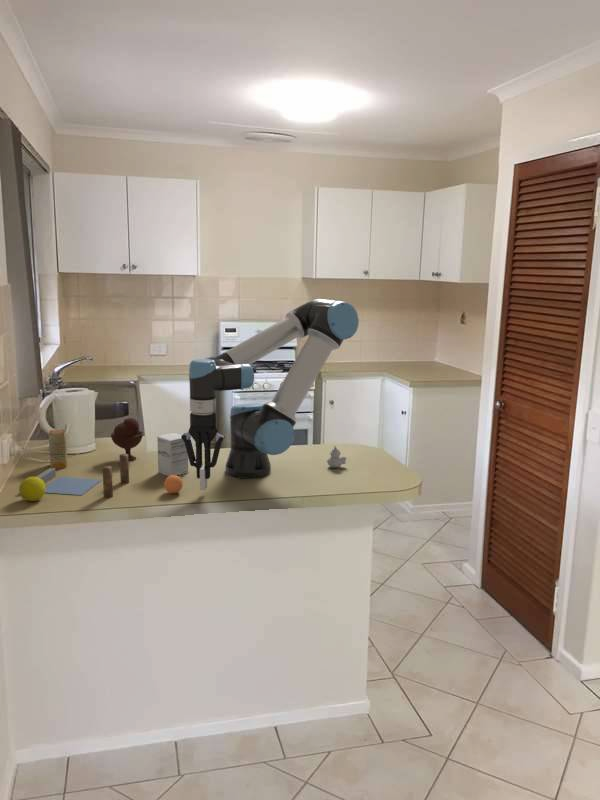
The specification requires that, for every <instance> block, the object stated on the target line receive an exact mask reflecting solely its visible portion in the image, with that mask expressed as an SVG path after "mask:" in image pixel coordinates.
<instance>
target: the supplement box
mask: <svg viewBox="0 0 600 800" xmlns="http://www.w3.org/2000/svg"><path fill="white" fill-rule="evenodd" d="M182 435H183V434H179V433H176V432H171V433H166V434H163V435H158V436H157V437H156V439H157V440H156V441H157V471H158V472H157V473H158V474H162V475H165V476H167V477H169V476H171V475H176V476H177V475H179V476H182V475H181V474H183V475H185V474H184V473H186V474H189V458H188V454H187V450H186V446H185V442H184V441H183V439H182V438H181V436H182Z"/></svg>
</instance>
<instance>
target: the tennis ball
mask: <svg viewBox="0 0 600 800" xmlns="http://www.w3.org/2000/svg"><path fill="white" fill-rule="evenodd" d="M19 484H20V485H19V489H18V491H19V495H20V496H21V498H22V499H23V500H25V501H27V502H35V501H39V500H40V499H41V498H43V497H44V495H45V494H46V493H45V489H46V488H45V487H46V483H44V482H43V480H42V479H40V478H38V477H36V476H29V477H27V478H26V477H25V479H23V480H22V481H21V482H20V483H19Z"/></svg>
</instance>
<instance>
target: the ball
mask: <svg viewBox="0 0 600 800" xmlns="http://www.w3.org/2000/svg"><path fill="white" fill-rule="evenodd" d="M163 486H164V489H165V490H166V492H168V493H169V494H177V493H179V492H180V491H181V490H182V488H183V486H184V485H183V480H182V478H181V477H180V475H179V476H176V475H171V476H167V477H165V480H164V482H163Z"/></svg>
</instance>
